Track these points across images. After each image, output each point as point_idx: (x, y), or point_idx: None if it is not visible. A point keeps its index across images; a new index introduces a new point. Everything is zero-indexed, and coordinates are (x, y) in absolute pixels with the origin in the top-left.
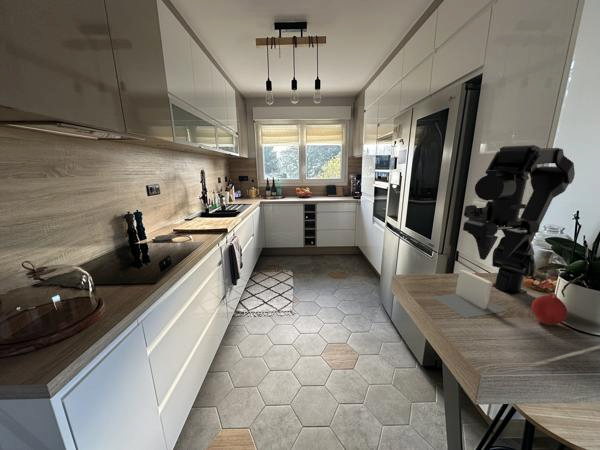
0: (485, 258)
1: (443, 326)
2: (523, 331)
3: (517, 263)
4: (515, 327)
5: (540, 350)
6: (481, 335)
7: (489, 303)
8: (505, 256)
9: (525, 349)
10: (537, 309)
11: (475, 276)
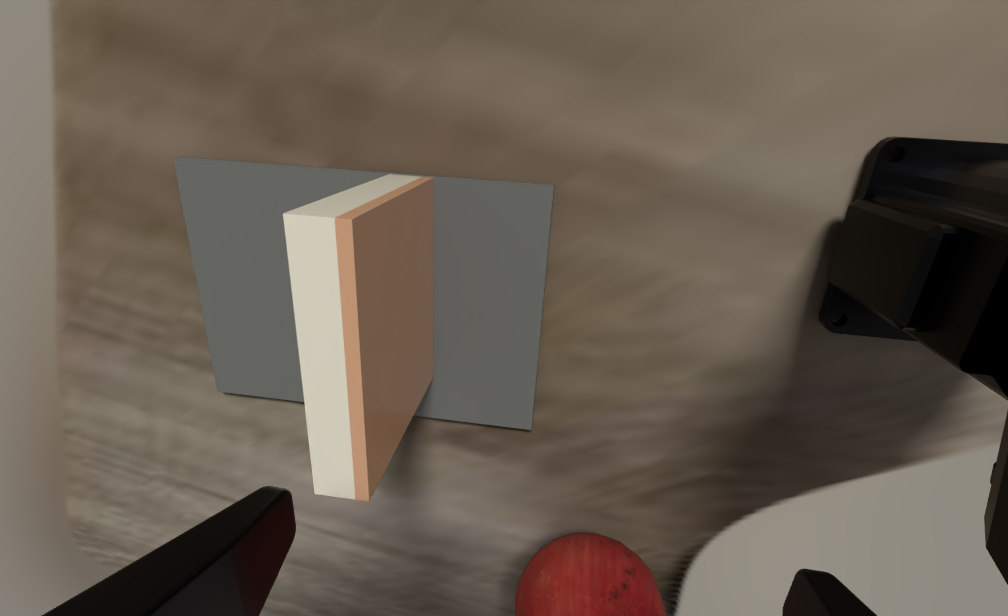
0: (273, 563)
1: (87, 385)
2: (422, 525)
3: (1003, 541)
4: (417, 500)
5: (360, 589)
6: (212, 476)
7: (502, 348)
8: (790, 599)
9: (310, 569)
10: (518, 598)
11: (318, 379)
